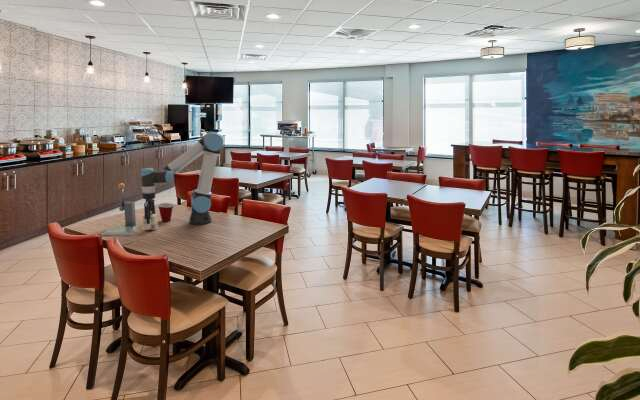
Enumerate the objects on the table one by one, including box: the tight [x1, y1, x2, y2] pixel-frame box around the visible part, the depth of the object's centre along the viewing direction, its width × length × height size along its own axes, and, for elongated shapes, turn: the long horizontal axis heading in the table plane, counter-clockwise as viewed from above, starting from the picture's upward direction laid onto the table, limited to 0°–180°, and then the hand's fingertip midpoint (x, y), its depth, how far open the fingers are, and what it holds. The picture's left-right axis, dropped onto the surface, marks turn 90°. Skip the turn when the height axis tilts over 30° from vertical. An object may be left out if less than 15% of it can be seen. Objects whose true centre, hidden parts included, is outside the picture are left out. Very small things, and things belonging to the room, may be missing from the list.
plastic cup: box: [157, 202, 175, 223], centre depth 288 cm, size 11×11×12 cm
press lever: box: [117, 182, 125, 212], centre depth 270 cm, size 4×4×18 cm
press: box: [102, 201, 140, 237], centre depth 263 cm, size 16×26×16 cm, turn 5°
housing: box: [142, 211, 159, 231], centre depth 265 cm, size 7×7×12 cm
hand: (150, 226), depth 266 cm, fingers closed on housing, 7 cm apart
